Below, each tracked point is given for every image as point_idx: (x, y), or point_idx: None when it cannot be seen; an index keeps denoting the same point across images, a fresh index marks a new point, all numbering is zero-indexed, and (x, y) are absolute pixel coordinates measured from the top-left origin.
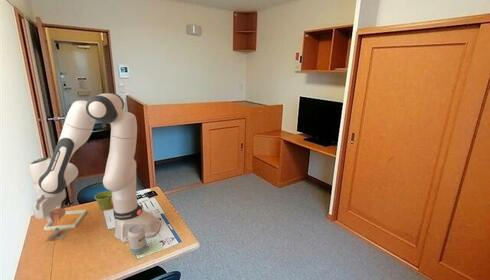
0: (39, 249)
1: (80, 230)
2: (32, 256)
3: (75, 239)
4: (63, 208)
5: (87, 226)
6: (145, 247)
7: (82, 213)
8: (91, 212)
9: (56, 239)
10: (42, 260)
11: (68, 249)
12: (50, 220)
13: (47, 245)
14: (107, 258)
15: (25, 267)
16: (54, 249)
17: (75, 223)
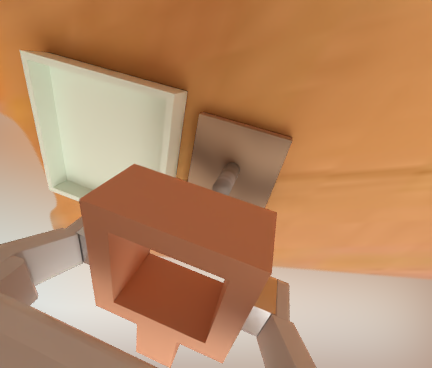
0: (302, 227)
1: (215, 54)
2: (346, 247)
3: (311, 67)
4: (94, 208)
5: (182, 11)
6: None
7: (59, 65)
8: (37, 23)
9: (270, 173)
10: (425, 212)
11: (417, 93)
12: (286, 294)
13: (287, 202)
14: None
15: (427, 265)
16: (350, 171)
17: (161, 90)
